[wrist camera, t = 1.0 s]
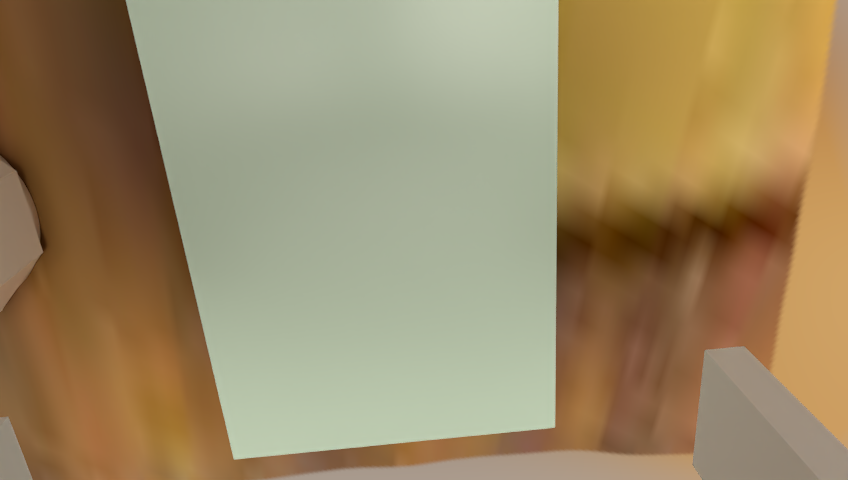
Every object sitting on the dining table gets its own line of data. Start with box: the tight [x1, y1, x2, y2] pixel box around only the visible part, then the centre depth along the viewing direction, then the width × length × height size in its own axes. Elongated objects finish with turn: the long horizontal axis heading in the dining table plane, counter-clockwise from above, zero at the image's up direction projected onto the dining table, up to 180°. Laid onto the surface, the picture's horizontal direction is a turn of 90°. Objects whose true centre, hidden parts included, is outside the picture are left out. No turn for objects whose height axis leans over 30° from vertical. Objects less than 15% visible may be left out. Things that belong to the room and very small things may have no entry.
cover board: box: [126, 0, 558, 459], centre depth 21 cm, size 16×12×2 cm
